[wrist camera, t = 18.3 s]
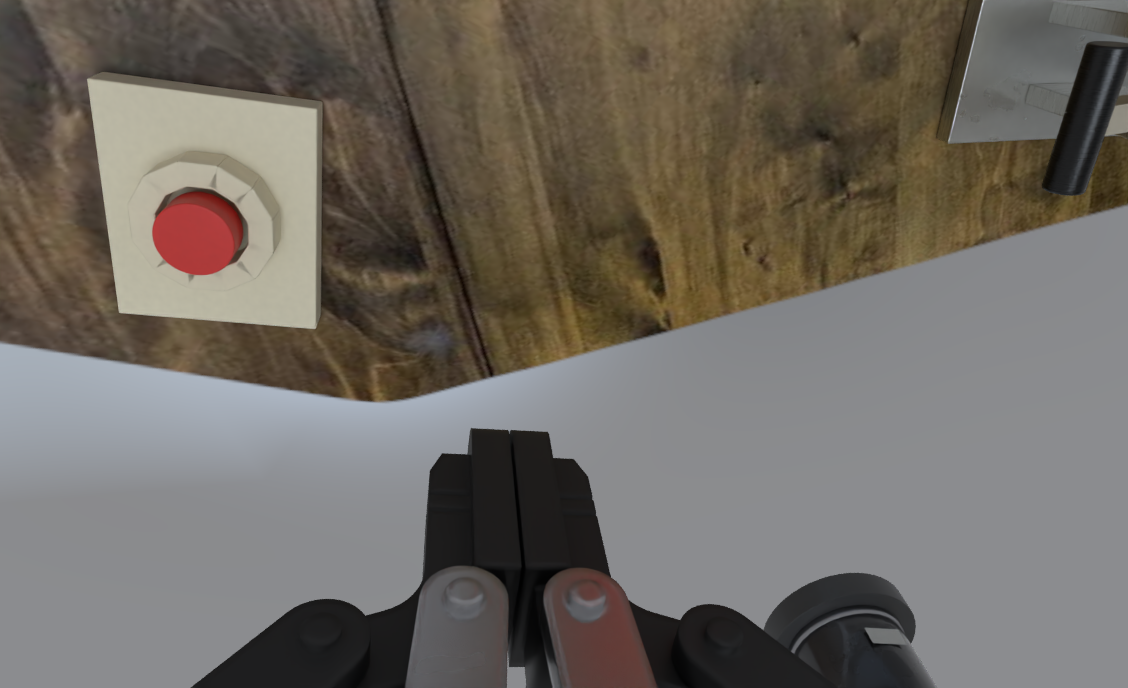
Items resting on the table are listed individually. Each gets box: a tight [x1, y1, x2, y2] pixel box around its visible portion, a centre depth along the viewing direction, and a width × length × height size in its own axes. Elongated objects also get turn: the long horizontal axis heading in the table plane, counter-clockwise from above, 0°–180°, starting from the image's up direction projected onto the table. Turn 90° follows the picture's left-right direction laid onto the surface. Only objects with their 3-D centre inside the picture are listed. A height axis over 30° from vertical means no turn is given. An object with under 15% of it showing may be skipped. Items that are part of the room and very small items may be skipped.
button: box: [152, 192, 243, 275], centre depth 36 cm, size 4×4×2 cm
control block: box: [87, 72, 323, 329], centre depth 38 cm, size 12×10×4 cm
